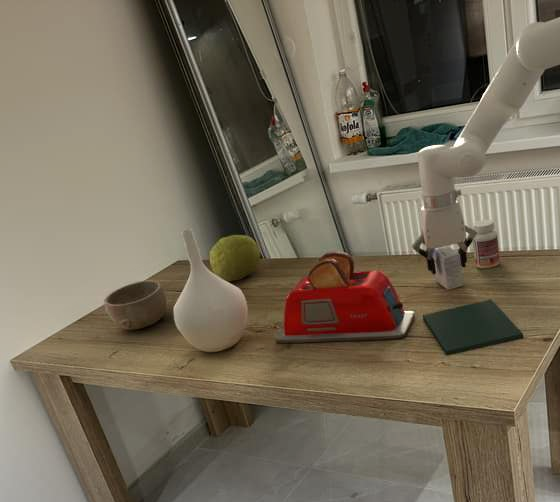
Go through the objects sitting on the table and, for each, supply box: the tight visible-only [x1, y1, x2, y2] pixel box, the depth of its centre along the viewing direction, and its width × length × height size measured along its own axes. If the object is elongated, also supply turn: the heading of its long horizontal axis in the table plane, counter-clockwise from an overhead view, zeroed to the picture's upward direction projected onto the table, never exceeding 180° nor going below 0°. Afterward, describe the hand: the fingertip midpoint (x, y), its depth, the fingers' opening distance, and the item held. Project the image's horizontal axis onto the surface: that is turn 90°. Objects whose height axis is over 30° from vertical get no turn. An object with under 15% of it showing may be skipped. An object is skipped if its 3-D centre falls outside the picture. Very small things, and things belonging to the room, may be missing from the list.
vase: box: [173, 228, 249, 353], centre depth 166 cm, size 18×18×30 cm
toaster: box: [274, 251, 416, 344], centre depth 158 cm, size 32×13×19 cm, turn 68°
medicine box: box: [432, 245, 464, 291], centre depth 171 cm, size 8×4×9 cm, turn 9°
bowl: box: [103, 280, 167, 331], centre depth 196 cm, size 17×18×10 cm
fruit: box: [209, 234, 261, 283], centre depth 213 cm, size 16×14×15 cm
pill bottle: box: [472, 219, 501, 269], centre depth 176 cm, size 6×6×11 cm
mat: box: [422, 299, 524, 356], centre depth 148 cm, size 16×20×1 cm
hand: (447, 268), depth 171 cm, fingers open, 6 cm apart
